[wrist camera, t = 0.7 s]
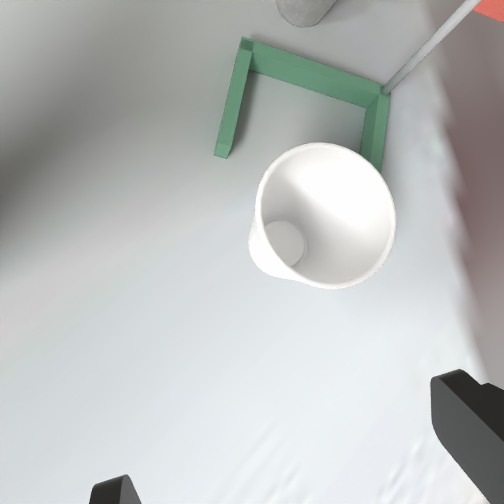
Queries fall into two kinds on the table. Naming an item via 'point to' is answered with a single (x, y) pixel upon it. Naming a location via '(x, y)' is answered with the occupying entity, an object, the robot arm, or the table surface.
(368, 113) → the putting pocket
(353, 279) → the cup
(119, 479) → the robot arm
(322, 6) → the house plant
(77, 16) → the table surface
